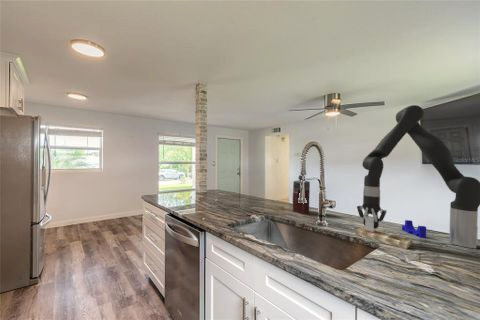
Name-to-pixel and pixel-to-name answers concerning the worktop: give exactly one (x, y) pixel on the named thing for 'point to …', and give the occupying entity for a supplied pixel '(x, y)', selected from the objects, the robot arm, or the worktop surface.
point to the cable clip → (410, 229)
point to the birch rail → (385, 238)
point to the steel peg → (369, 224)
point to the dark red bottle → (296, 190)
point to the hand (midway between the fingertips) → (370, 227)
